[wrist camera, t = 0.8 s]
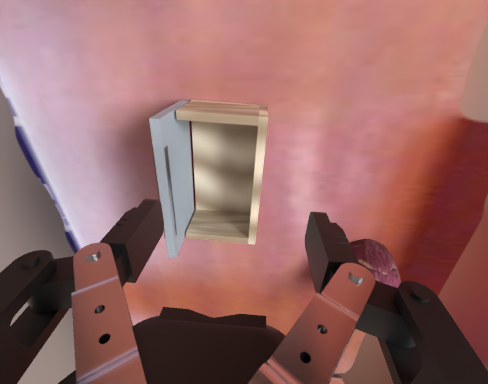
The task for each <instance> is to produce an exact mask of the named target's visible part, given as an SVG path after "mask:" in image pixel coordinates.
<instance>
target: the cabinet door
mask: <svg viewBox="0 0 488 384" xmlns="http://www.w3.org/2000/svg"><path fill="white" fill-rule="evenodd" d="M186 103H188V101H186V100H180V101H178V102H176V103H175V104H173V105H171V106H169V107H168V108H166V109H164V110H162V111H161V112H159V113H157V114H155V115H154V116H152V117H150V118H149V122H150V129H151V137H152V144H153V147H152V148H153V155H154V163H155V170H156V177H157V184H158V191H159V198H160V202H161V205H162V212H163V219H164V234H165V238H166V245H167V252H168V257H169V258H176V256H177V254H178V252H179V249H180V247H181V245H182V242H183V240H184V238H185V235H186V232H187V229H188V227H189V225H190V222H191V220H192V218H193V215H194V196H193V178H192V160H191V142H190V124H189V121H187V120H177V117H176V110H177V109H179V108H180V107H182V106H183V105H185V104H186Z"/></svg>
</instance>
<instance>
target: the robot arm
mask: <svg viewBox="0 0 488 384" xmlns="http://www.w3.org/2000/svg"><path fill="white" fill-rule="evenodd" d="M163 231H164V219H163V212H162V205H161V202H160V200H151V199H145V200H143V202H142V203H141V204H140V205H139V206H138V208H133V209H131V210H129V211H128V212H126V213H125V214H124V215H123V216H122V217H121V218H120V220H119V221H118V222H117V223H116V225H114V226H113V228H112V229H111V230H110V231H109V232H108V233H107V234H106V236H105V237H104V238H103V239H102V240H101V241H100V242H99V243H94V244H90V245H87V246H85V247H83V248H82V249H80V250H79V251H78V252H77V253H76V254H75V255H74V256H72V257H66V258H59V259H54V258H53V256H52V254H51V252H49V251H46V250H39V251H33V252H30V253H27V254H25V255H23V256H21V257H19V258H17V259H16V260H14V261H13V262H12V263H11V264H10V265H9V266H8V267H6V268H5V269H4V270H3V271H2V272H1V273H0V384H17V383H18V381H19V380H20V378H21V377H22V375H23V374H24V372H25V371H26V370H27V368H28V367H29V365H30V364H31V363H32V361H33V359H34V358H35V357H36V355H37V354H38V352H39V351H40V350H41V348H42V347H43V345H44V344H45V342H46V341H47V340H48V338H49V337H50V335H51V334H52V332H53V331H54V330H55V328H56V327H57V325H58V324H59V322H60V321H61V319H62V318H63V317H64V315H65V314H66V312H67V311H68V310H69V308H72V315H73V333H74V350H75V367H76V370H75V371H73V372H72V373H71V374H70V375H68V376H67V377H66V378H65V379H63V380H62V381H60V382H59V383H58V384H329V383H330V381H331V378H332V376H333V374H334V372H335V370H336V368H337V366H338V363H339V361H340V359H341V357H342V355H343V353H344V351H345V349H346V347H347V344H348V342H349V340H350V338H351V336H352V334H353V332H354V330H355V329H358V330H360V331H363V332H365V333H368V334H371V335H373V336H376V337H377V338H378V340H379V343H380V346H381V349H382V352H383V355H384V357H385V360H386V363H387V366H388V368H389V371H390V374H391V377H392V380H393V383H394V384H488V371H487V369H486V368H485V366H484V365H483V363H482V362H481V360H480V359H479V357H478V356H477V354H476V353H475V351H474V350H473V348H472V347H471V346H470V344H469V342H468V341H467V339H466V338H465V336H464V335H463V333H462V332H461V330H460V329H459V327H458V326H457V324H456V323H455V322H454V320H453V318H452V317H451V315H450V314H449V312H448V311H447V309H446V308H445V306H444V305H443V303H442V302H441V301H440V299H439V298H438V296H437V295H436V294H435V293H434V292H433V291H432V290H430V289H429V288H427V287H426V286H424V285H422V284H419V283H417V282H413V281H404V282H402V283H400V284H399V286H398V288H397V287H394V286H390V285H387V284H384V283H381V282H379V281H376V280H375V278H374V276H373V274H372V273H371V272H370V271H369V270H368V269H366V268H365V267H363V266H361V265H359V263H358V261H357V258H356V256H355V254H354V252H353V250H352V248H351V246H350V244H349V242H348V239H347V238H346V235H345V233H344V231H343V229H342V228H341V227H340V226H338V225H337V224H336V223H330V221H329V218H328V216H327V214H326V213H322V212H311V213H310V216H309V221H308V225H307V230H306V234H305V248H306V252H307V256H308V261H309V265H310V269H311V274H312V278H313V282H314V287H315V291H316V295H315V296H314V298H313V299H312V301H311V302H310V303H309V305H308V306H307V307H306V309H305V310H304V312H303V313H302V314H301V316H300V317H299V319H298V320H297V321H296V323H295V324H294V325H293V327H292V328H291V330H290V331H289V332H288V334H287V335H286V336H285V335H284V334H283V333H281V332H280V331H278V330H277V329H275V328H273V327H271V326H268V325H266V316H259V315H248V314H236V315H230V316H224V317H217V318H211V317H208V316H206V315H203V314H200V313H197V312H194V311H192V310H189V309H180V308H169V307H163V309H162V311H161V314H160V316H155V317H152V318H149V319H146V320H143V321H141V322H139V323H137V324H136V325H134V326H133V324H132V320H131V316H130V313H129V309H128V305H127V302H126V298H125V294H124V291H123V286H124V284H125V283H126V282H130V283H136V281H137V279H138V277H139V275H140V274H141V272H142V270H143V268H144V267H145V265H146V263H147V261H148V259H149V258H150V256H151V254H152V252H153V250H154V249H155V247H156V245H157V243H158V242H159V240H160V238H161V236H162V234H163ZM26 302H27V303H28V304H29V306H28V307H27V308H26V309H25V310H24V312H23V313H22V314H21V315H20V316H19V317H18V319H17V320H16V321H15V322H14V323H13V324H12V325H11V327H10V324H11V321H12V319H13V317H14V316H15V314H16V313H17V312H18V311H19V310H20V309H21V308H22V306H23V305H24V304H25V303H26Z"/></svg>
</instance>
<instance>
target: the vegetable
mask: <svg viewBox="0 0 488 384" xmlns="http://www.w3.org/2000/svg"><path fill="white" fill-rule="evenodd" d="M350 246H351V248H352V250H353V252H354V254H355V256H356V258H357V261H358V263H359V265H361V266H363V267H365V268H366V269H368V270H369V271H370V272H371V273H372V274H373V276H374V278H375V280H376V281H379V282H381V283H384V284H387V285H390V286H394V287H397V288H398V286H399V284H400V283H401V279H400V275H399V272H398V268H397V266H396V263H395V261H394V259H393V257H392V255H391V254H390V252H389V251H388V249H387V248H386V247H385V246H384V245H382V244H380V243H378V242H376V241H373V240H370V239H363V240H359V241H356V242H352V243H350Z"/></svg>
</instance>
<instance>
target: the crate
mask: <svg viewBox="0 0 488 384" xmlns="http://www.w3.org/2000/svg"><path fill="white" fill-rule="evenodd" d="M176 117H177V120H187V121H192V140H193V160H194V179H195V198H196V211H195V213H194V215H193V218H192V220H191V222H190V225H189V227H188V229H187V232H186V238H190V239H201V240H212V241H223V242H234V243H245V244H255V239H256V230H257V220H258V211H259V201H260V192H261V182H262V173H263V163H264V154H265V144H266V135H267V125H268V105H261V104H247V103H233V102H219V101H206V100H191V101H189V102H188V103H186V104H185V105H183V106H182V107H180V108H179V109H177V110H176Z"/></svg>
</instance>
